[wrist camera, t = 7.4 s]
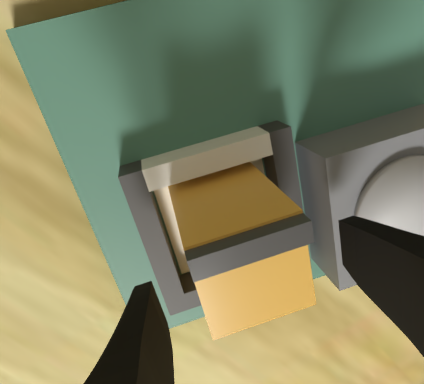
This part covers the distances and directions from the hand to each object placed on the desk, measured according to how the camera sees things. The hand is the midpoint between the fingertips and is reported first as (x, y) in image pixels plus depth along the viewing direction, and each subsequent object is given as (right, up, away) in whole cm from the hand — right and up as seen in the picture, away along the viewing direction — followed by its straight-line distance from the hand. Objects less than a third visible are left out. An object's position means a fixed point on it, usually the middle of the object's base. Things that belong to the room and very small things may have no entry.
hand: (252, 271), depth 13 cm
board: (+1, +5, +5) cm, 7 cm away
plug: (-1, +2, +5) cm, 5 cm away
